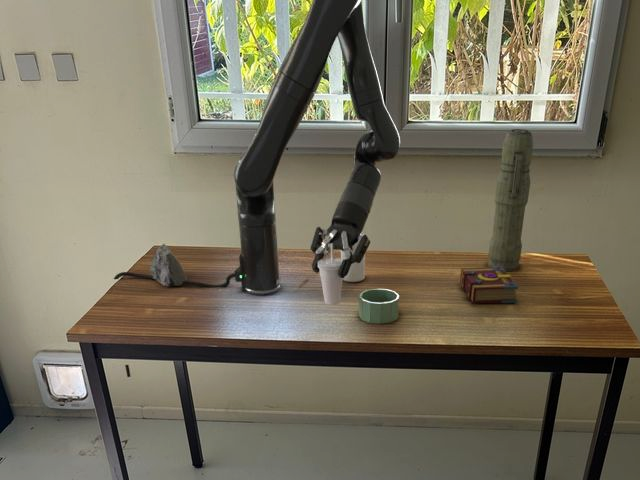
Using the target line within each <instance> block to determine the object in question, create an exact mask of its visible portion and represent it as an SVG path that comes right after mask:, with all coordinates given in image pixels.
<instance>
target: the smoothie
mask: <svg viewBox="0 0 640 480" xmlns="http://www.w3.org/2000/svg"><path fill="white" fill-rule="evenodd" d="M342 261H343V259H341V257H340V258H339V257H334V250H333V243H331V253H330V257H324V258H323V259H321V260H319V261H318V268H319V270H320V271H319V275H320V281H321V287H322V294H323V301H324V304H326V305H329V306H335V305H338V304H340V303H341V297H342V288H343V278H340V277H339V275H338V272H339V269H340V266H341V264H342Z"/></svg>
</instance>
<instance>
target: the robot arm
mask: <svg viewBox="0 0 640 480" xmlns="http://www.w3.org/2000/svg"><path fill="white" fill-rule="evenodd" d="M336 40H338V43H339V46H340V47H339V48H340V51H341V56H342V61H343V66H344V73H345V77H346V78H345V79H346V84H347V87H348V92H349V95H350V99H351V103H352V107H353V111H354V115H355V117H356V119H357V120H358V121H361V122H366V123H367V124H368V125H369V127H370V129H371V130H368V131H366V132H364V133H362V135H360V137H359V138H358V140H357V142H356V143H355V144H356V145H355V148H354V156H353V163H352V171H351V173H350V175H349V177H348V180H347V184H346V185H345V187H344V189H343V191H342V193H341V196H340V198H339V201H338V203H337V205H336V208H335V209H334V213H333V215H332V218H331V224H330V226H329V227H328V228H327V229H325V228H321V226H317V227H316V229H315V231H314V234H313V237H312V241H311V243H310V244H311V245H310V248H309V249H310V250H311V252H312V253H313V254H314V258H313V261H312V263H311V269H312V271H313V272H314V273H317V274H320V270H319V268H318V261H319V260H321V259H324V258H326V257H327V256H328V254H331V243H333V251H334V250H336V251H339V250H340V251H341V250H342V251H344V253H345V260H344V259H343V261H342V264H341V266H340V269H339V272H338V275H339V277H340V278H344V277H345V276H347V274H348V272H349V269H350V267H351V264H353V263H356V262H357V263H360V262H361V261H362V259H363V257H364V255H365V256H366V253H367V251H368V249H369V246H370V244H371V240H370V238H369V237H368V236H367V234H364V235H363V236H361V235H360V233H361V232H362V233H363V230H364V228H365V225H366V222H367V220H368V218H369V215H370V213H371V210H372V208H373V204H374V200H375V197H376V195H377V192H378V189H379V187H380V184H381V181H382V173H381V171H380V170H379V168H377V167H376V165H377V163H382V162H389V161H392V160H394V159H396V158H397V157H398V154H399V153H400V149H401V137H400V134H399V131H398V129H397V126H396V124H395V123H394V121H393V119H392V117H391V115H390V112H389V111H388V109H387V107H386V105H385V101H384V97H383V92H382V88H381V84H380V80H379V76H378V72H377V68H376V65H375V62H374V58H373V56H372V52H371V49H370V45H369V41H368V36H367V31H366V26H365V20H364V9H363V0H311V4H310V6H309V9H308V12H307V15H306V17H305V19H304V21H303V24H302V26H301V28H300V30H299V32H298V34H297V35H296V37H295V39H294V40H293V42H292V44H291V46H290V47H289V48H288V51H287V53H286V55H285V56H284V59H283V61H282V63H281V64H280V67H279V69H278V71H277V73H276V75H275V77H274V80H273V82H272V84H271V85H270V86H271V87H270V89H269V92H268V94H267V97H266V101H265V103H264V107H263V110H262V112H261V113H262V114H261V116H260V120H259V124H258V127H257V130H256V132H255V134H254V136H253V138H252V140H251V142H250V143H249V146H248V148H247V149H246V151H244V152H243V153H241V154H240V155H239V156H238V157H237V159H236V160H235V162H234V166H233V167H234V168H233V179H234V183H235V194H236V209H237V221H238V229H239V240H240V252H241V253H240V254H238V260H239V266H238V267H237V268H236V269H235V270H234V272H233V273H230V274H229V275H227V276H226V279H225V282H224V283H221V284H209V283H204V282H200V281H199V282H198V281H191V280H190V281H189V280H187V281H183V284H182V285H185V286H194V287H202V288H226V287H227V286H228V287H229V285H230V283H231V279H232V278H234V279H235V282H237V283H241V291H242V292H245V293H248V294H252V295H261V296H262V295H270V294H274V293H276V292H278V291H280V289H281V281H282V279H281V277H280V268H279V252H278V251H279V250H278V235H277V218H276V202H275V192H274V191H275V190H274V178H275V176H276V173H277V170H278V167H279V165H280V162H281V159H282V157H283V154H284V152H285V150H286V147H287V146H288V144H289V142H290V140H291V139H292V137H293V135H294V134H295V132H296V130H297V129H298V127H299V125H300V123H302V120H303V118H304V117H305V115H306V112H307V111H308V109H309V107H310V105H311V103H312V101H313V99H314V97H315V94H316V92H317V91H318V88H319V86H320V83H321V81H322V78H323V76H324V72H325V69H326V66H327V63H328V60H329V57H330V55H331V51H332V49H333V46H334V44H335V41H336ZM357 242H358V243H359V244H358V246H357V248H356V250H355V252H354V253H353V245H355V244H356V243H357ZM125 276H126V277H133V278H144V279H151V280H155V279H154V277H153V276H152V274H145V273H135V272H130V271H122V272H119V273H117V274H115V276H114V277H113V280H118V279H120V278H121V277H125ZM124 367H125V371H126V377H127V378H130V377H131V371H130V366H129V364H125V365H124Z"/></svg>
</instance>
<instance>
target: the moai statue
mask: <svg viewBox="0 0 640 480" xmlns="http://www.w3.org/2000/svg"><path fill="white" fill-rule="evenodd" d="M502 144H503V145H502V152H501V161H500V164H501V166H500V170H499V174H498V176H497V178H496V184H495V192H494V193H495V194H494V203H495V210H494V218H493V227H492V236H491V238H490V241H489V246H488V254H487V257H488V260H487V268H488V267H495V266H502V267H503V268H504V269H505V271H506V272H512V271H516V270H518V269H519V266H520V259H521V257H522V250H523V242H522V233H523V226H524V220H525V219H524V218H525V212H526V206H527V204H528V202H529V195H530V188H531V176H530V171H531V169H530V165H531V162H532V156H533V150H534V149H533V148H534V139H533V133H532V132H531V131H530V130H529V129H523V128H514V129H510V130H508V131H507V133H506V135H505V138H504V141H503V143H502Z"/></svg>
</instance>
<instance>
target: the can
mask: <svg viewBox="0 0 640 480" xmlns="http://www.w3.org/2000/svg"><path fill="white" fill-rule="evenodd" d="M360 235H361V236H363V235H365V234H364V232H363V231H362V232H361V233H360ZM358 244H359V243H358V242H357V243H356V244H355V245H353V253H354V252H355V250H356V248H357V246H358ZM340 259H344V260H345V253H344V251H342V250H340ZM365 278H366V254H365V255H364V257H363V259H362V261H361V262H360V263H357V262H356V263H353V264H351V267H350V269H349V272H348V274H347V276H345V277H344V278H343V279H342V281H344V282H347V283H359V282H362V281H363V280H364V279H365Z"/></svg>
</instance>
